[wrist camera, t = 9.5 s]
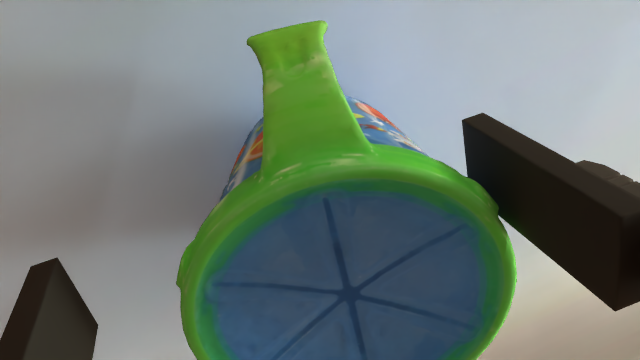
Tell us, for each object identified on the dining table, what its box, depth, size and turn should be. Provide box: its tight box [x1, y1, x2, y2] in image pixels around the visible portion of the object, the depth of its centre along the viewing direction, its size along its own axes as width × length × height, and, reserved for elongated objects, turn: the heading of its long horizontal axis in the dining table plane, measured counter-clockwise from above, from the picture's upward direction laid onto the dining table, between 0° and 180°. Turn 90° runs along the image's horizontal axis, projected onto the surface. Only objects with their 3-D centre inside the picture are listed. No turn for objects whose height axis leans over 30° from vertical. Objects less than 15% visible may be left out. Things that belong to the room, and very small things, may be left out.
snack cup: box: [176, 21, 517, 360], centre depth 20 cm, size 16×11×10 cm
